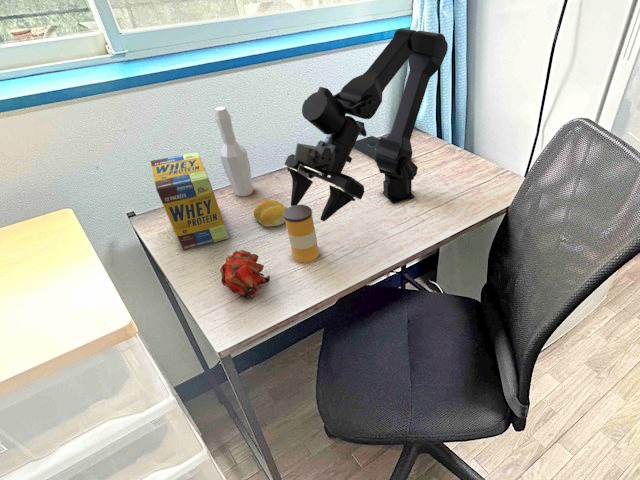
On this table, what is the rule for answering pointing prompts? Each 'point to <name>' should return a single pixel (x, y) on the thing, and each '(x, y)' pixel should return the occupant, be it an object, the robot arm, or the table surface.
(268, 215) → the bread roll
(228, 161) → the low poly bottle
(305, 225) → the tube
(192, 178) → the protein box
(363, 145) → the smart home device
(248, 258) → the dragon fruit
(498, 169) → the table surface
